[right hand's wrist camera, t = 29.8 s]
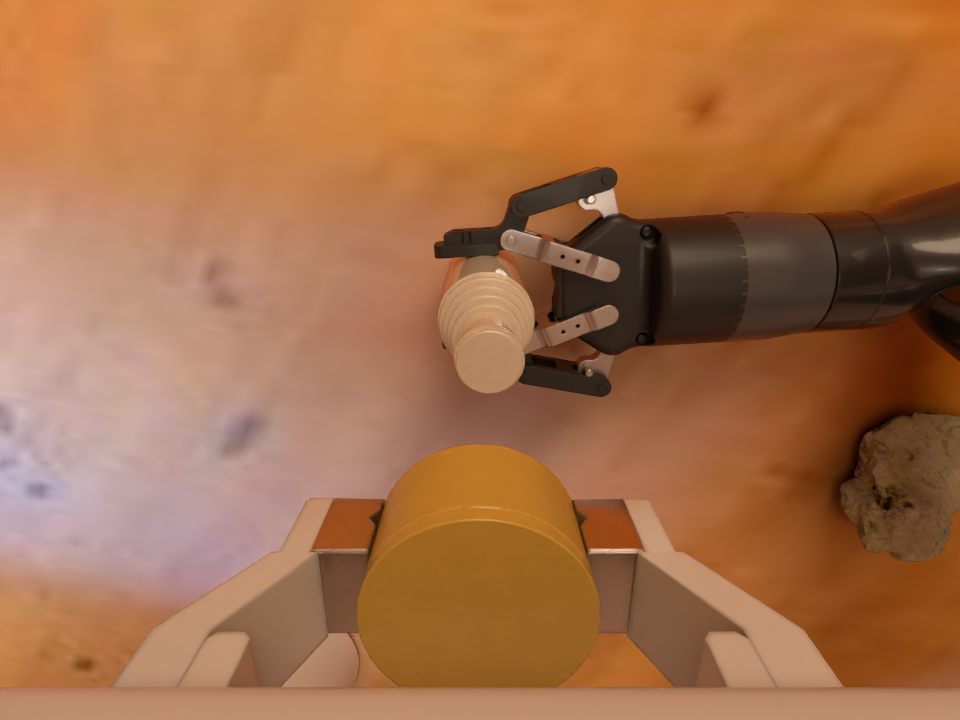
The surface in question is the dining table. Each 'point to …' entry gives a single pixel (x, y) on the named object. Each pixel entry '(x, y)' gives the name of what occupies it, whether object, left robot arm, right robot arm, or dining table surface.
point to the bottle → (486, 321)
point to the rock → (906, 486)
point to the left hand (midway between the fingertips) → (440, 296)
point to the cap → (478, 575)
